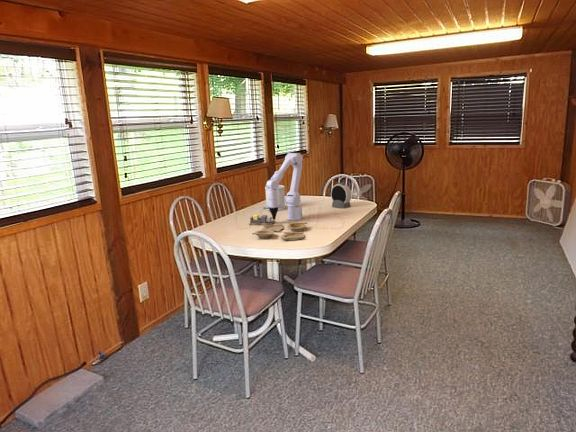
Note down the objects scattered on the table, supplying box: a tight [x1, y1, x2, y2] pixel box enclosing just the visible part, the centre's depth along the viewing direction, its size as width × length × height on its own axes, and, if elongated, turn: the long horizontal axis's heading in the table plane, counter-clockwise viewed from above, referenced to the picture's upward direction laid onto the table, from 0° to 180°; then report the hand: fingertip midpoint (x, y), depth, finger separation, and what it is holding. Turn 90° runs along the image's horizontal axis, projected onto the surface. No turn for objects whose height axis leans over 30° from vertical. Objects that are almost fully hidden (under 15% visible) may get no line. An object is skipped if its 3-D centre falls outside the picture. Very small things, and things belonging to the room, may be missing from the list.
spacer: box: [252, 214, 260, 220], centre depth 275 cm, size 3×4×4 cm
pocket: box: [249, 215, 261, 223], centre depth 275 cm, size 7×7×4 cm
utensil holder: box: [264, 184, 286, 212], centre depth 316 cm, size 15×15×18 cm
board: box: [248, 219, 276, 226], centre depth 275 cm, size 15×10×1 cm
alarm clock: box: [330, 182, 352, 209], centre depth 314 cm, size 16×10×18 cm, turn 42°
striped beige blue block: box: [265, 216, 273, 222], centre depth 274 cm, size 7×3×3 cm, turn 77°
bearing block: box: [259, 214, 268, 223], centre depth 274 cm, size 3×6×4 cm, turn 167°
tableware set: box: [251, 221, 308, 241], centre depth 249 cm, size 35×29×4 cm
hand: (274, 219), depth 273 cm, fingers closed
